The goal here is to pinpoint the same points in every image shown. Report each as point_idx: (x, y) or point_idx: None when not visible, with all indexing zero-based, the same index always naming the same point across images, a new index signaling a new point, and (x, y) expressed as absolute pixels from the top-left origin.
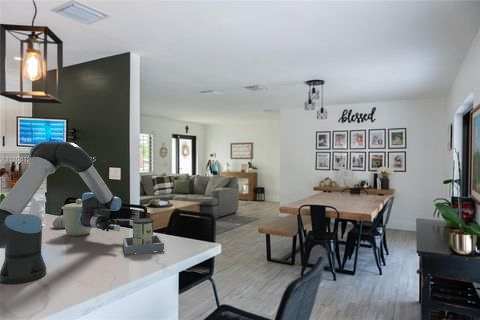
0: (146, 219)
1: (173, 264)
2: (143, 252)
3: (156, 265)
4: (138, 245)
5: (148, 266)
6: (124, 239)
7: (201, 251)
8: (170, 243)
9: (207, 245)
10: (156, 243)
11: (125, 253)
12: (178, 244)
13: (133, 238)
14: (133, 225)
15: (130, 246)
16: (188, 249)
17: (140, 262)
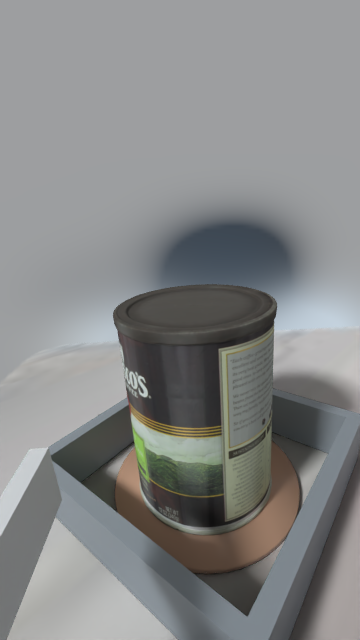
0: (157, 307)
1: None
2: None
3: (305, 343)
4: (289, 393)
5: (329, 347)
6: (286, 571)
7: None
8: (54, 439)
9: (59, 357)
10: None
11: (358, 452)
12: (66, 409)
13: (270, 430)
14: (272, 341)
15: (333, 407)
16: None
17: (335, 371)
